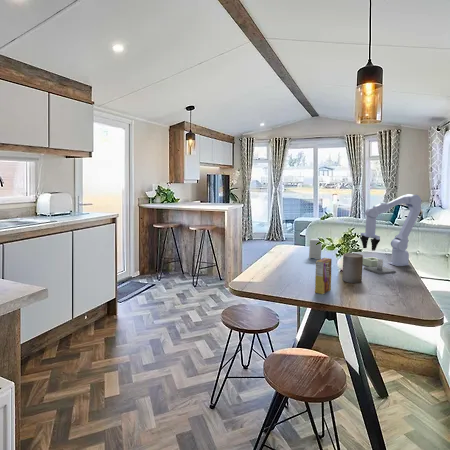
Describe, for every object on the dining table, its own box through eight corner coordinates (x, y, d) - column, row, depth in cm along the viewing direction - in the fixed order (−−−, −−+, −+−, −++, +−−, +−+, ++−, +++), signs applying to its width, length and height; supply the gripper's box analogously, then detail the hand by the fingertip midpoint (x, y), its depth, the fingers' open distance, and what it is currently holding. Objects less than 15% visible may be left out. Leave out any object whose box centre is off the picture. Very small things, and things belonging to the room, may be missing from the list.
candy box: (322, 288, 175) (324, 257, 173) (331, 290, 173) (332, 258, 171) (314, 292, 169) (315, 260, 167) (322, 294, 166) (324, 262, 164)
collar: (372, 263, 228) (372, 257, 227) (381, 266, 220) (382, 259, 220) (362, 264, 225) (362, 257, 225) (371, 267, 218) (371, 260, 217)
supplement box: (320, 259, 236) (321, 240, 234) (309, 259, 238) (310, 239, 236) (320, 257, 243) (321, 238, 242) (308, 256, 245) (309, 238, 243)
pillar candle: (361, 279, 192) (362, 251, 190) (361, 284, 183) (363, 254, 181) (342, 277, 195) (343, 250, 193) (341, 282, 186) (342, 253, 184)
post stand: (380, 267, 217) (381, 256, 216) (395, 272, 206) (396, 261, 205) (363, 268, 213) (364, 258, 213) (378, 274, 202) (379, 262, 201)
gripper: (357, 226, 228) (355, 247, 230) (373, 229, 214) (372, 251, 216) (366, 225, 230) (364, 246, 232) (383, 228, 217) (381, 251, 218)
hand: (369, 249), depth 224 cm, fingers open, 7 cm apart
